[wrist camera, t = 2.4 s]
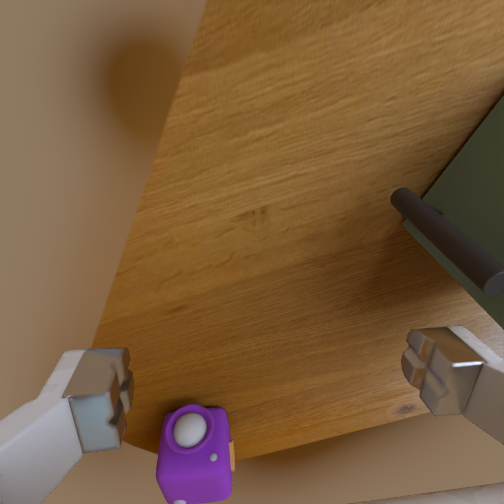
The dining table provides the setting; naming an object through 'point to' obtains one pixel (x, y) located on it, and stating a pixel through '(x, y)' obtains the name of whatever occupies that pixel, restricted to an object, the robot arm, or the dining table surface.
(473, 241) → the door
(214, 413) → the toy camera
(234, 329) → the dining table surface
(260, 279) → the dining table surface
